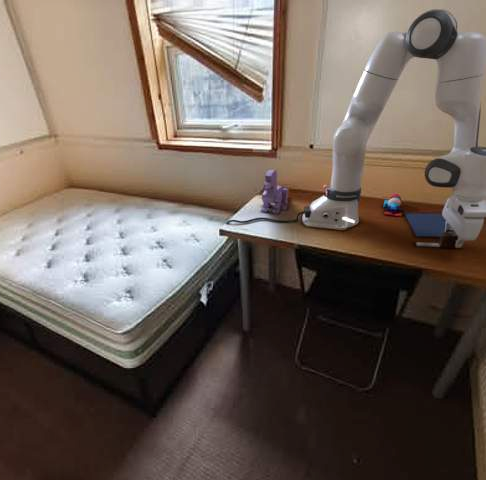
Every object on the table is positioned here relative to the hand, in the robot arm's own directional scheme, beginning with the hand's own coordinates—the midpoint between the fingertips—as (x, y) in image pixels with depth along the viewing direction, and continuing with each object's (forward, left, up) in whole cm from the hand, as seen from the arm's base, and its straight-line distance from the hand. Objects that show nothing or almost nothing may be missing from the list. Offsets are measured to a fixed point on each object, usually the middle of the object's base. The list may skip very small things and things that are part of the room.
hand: (452, 239), depth 112 cm
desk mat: (-3, +16, -2) cm, 16 cm away
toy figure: (-13, +31, -3) cm, 33 cm away
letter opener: (-4, 0, -2) cm, 5 cm away
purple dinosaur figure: (-62, +33, -3) cm, 70 cm away
